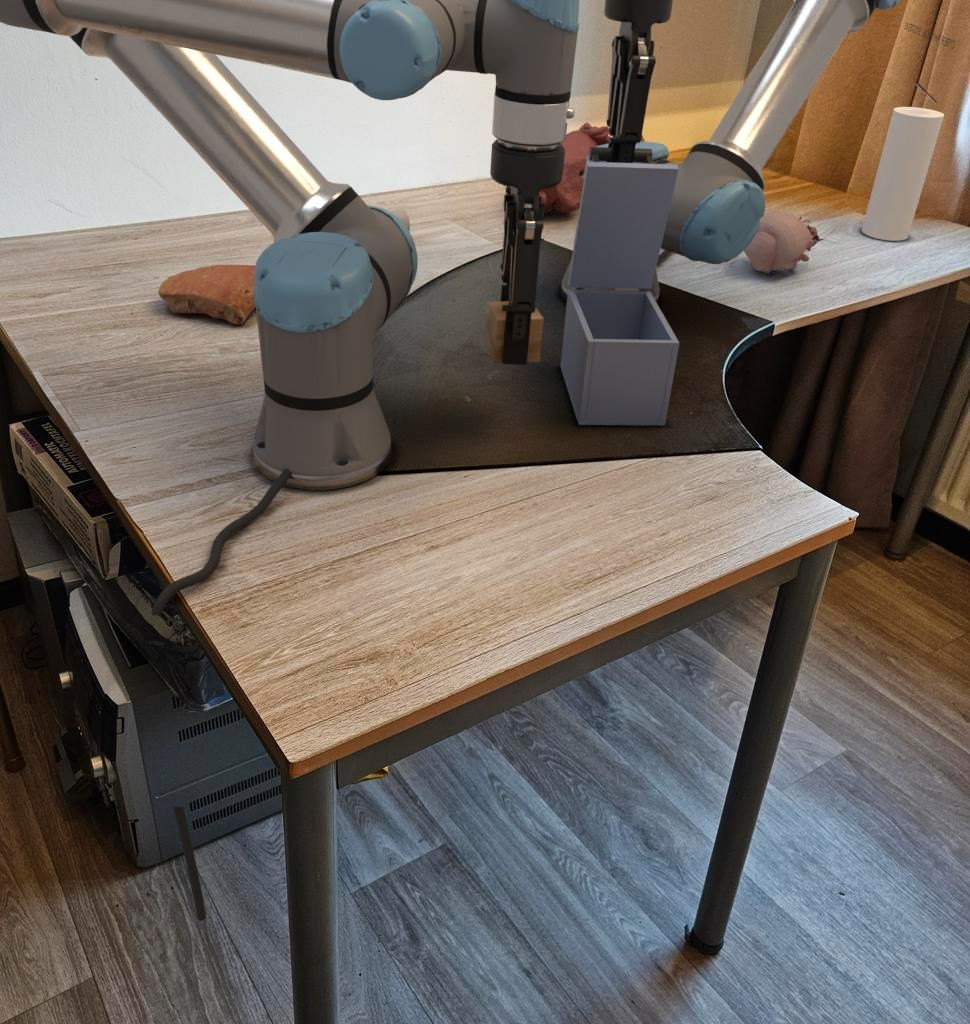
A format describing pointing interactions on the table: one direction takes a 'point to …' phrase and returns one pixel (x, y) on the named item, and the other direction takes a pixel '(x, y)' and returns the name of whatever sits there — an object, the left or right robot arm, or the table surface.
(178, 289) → the ceramic shard
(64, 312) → the table surface
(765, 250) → the toy
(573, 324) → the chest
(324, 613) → the table surface
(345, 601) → the table surface
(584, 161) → the fabric sculpture
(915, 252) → the table surface
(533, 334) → the block
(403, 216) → the electric motor
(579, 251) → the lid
